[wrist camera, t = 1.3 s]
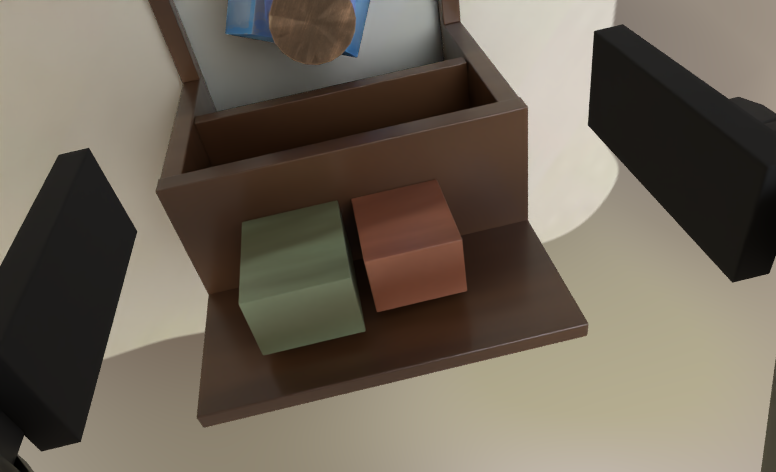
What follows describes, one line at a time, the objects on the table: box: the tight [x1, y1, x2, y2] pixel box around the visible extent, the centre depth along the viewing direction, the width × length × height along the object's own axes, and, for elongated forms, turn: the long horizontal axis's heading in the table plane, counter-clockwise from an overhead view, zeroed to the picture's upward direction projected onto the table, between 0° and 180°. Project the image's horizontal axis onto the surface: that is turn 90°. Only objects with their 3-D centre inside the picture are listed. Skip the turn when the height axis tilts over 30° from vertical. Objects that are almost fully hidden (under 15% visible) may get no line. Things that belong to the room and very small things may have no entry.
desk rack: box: [148, 0, 588, 427], centre depth 25 cm, size 19×16×19 cm
